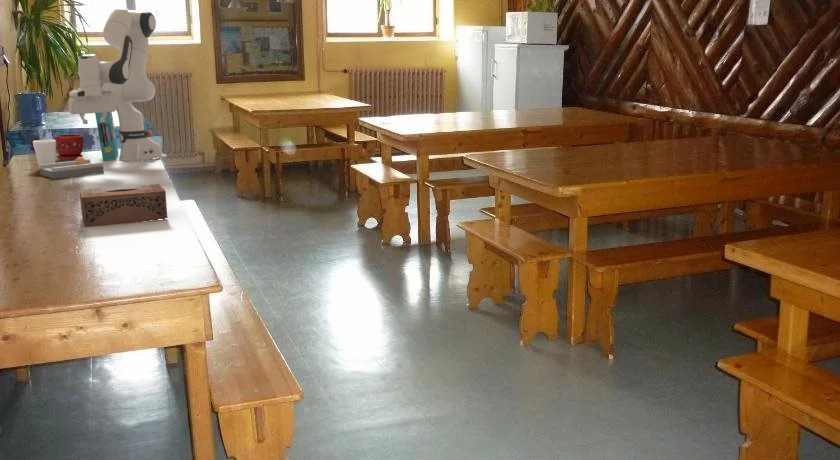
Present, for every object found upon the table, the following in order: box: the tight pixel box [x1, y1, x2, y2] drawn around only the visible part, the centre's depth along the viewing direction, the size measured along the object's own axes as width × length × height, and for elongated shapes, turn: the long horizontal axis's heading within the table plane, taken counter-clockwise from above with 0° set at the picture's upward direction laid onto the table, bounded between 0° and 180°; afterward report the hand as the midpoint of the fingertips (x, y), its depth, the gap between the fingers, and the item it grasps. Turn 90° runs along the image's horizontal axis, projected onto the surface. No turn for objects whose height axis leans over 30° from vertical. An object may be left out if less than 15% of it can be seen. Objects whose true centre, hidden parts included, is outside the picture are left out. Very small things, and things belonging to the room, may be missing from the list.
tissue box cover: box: [78, 183, 168, 228], centre depth 270 cm, size 26×14×10 cm, turn 115°
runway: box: [39, 158, 105, 180], centre depth 356 cm, size 22×14×4 cm, turn 135°
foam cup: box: [32, 139, 57, 169], centre depth 367 cm, size 10×9×13 cm
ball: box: [74, 157, 86, 165], centre depth 359 cm, size 4×4×4 cm
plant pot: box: [53, 133, 85, 162], centre depth 396 cm, size 13×13×12 cm
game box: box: [94, 112, 119, 162], centre depth 399 cm, size 20×6×27 cm, turn 17°
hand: (94, 123), depth 360 cm, fingers open, 6 cm apart
